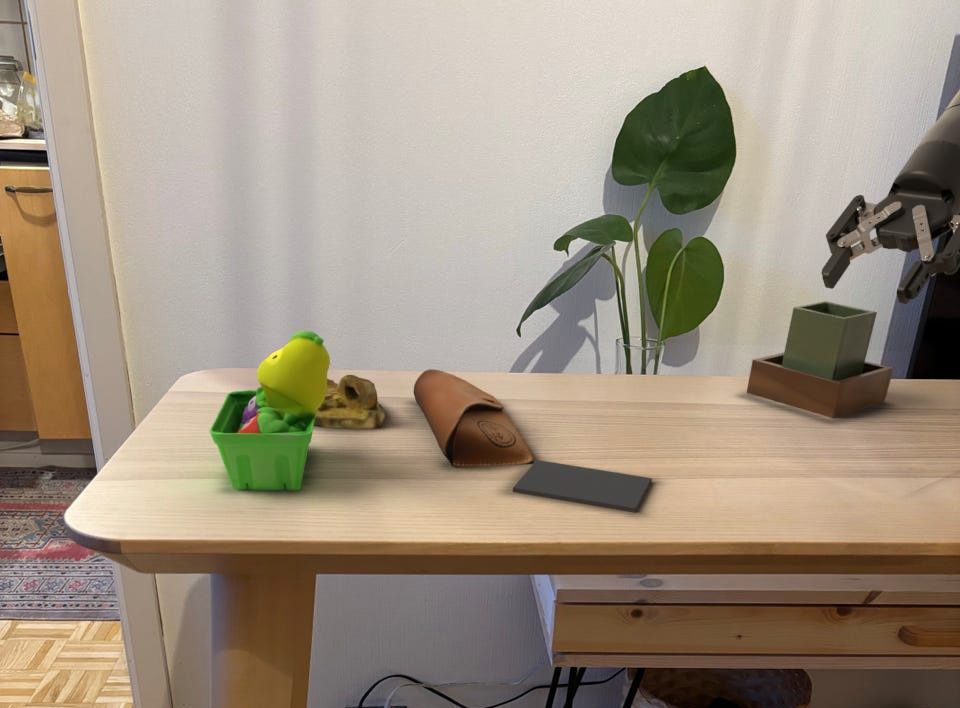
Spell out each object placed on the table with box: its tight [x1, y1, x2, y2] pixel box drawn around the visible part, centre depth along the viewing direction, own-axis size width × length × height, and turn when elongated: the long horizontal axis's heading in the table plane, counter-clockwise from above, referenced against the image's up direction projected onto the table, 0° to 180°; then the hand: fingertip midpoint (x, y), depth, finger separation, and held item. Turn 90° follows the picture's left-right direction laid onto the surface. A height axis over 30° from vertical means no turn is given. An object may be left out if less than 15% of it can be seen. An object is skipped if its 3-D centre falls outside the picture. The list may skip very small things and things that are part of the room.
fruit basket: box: [209, 330, 331, 491], centre depth 76 cm, size 11×9×11 cm
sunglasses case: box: [413, 368, 535, 468], centre depth 88 cm, size 18×7×7 cm
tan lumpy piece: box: [314, 374, 386, 430], centre depth 92 cm, size 9×5×15 cm
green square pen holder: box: [782, 301, 878, 381], centre depth 100 cm, size 6×6×9 cm
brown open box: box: [746, 352, 895, 419], centre depth 101 cm, size 10×10×4 cm
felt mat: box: [512, 459, 653, 514], centre depth 78 cm, size 10×7×1 cm
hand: (863, 290), depth 99 cm, fingers open, 8 cm apart
